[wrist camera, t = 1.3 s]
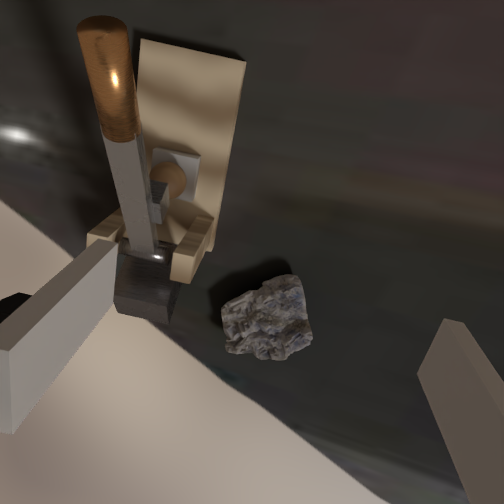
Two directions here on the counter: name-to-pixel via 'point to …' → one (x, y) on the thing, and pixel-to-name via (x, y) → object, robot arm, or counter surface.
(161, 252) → the lever
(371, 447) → the counter surface
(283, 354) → the rock
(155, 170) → the tan angle plate
